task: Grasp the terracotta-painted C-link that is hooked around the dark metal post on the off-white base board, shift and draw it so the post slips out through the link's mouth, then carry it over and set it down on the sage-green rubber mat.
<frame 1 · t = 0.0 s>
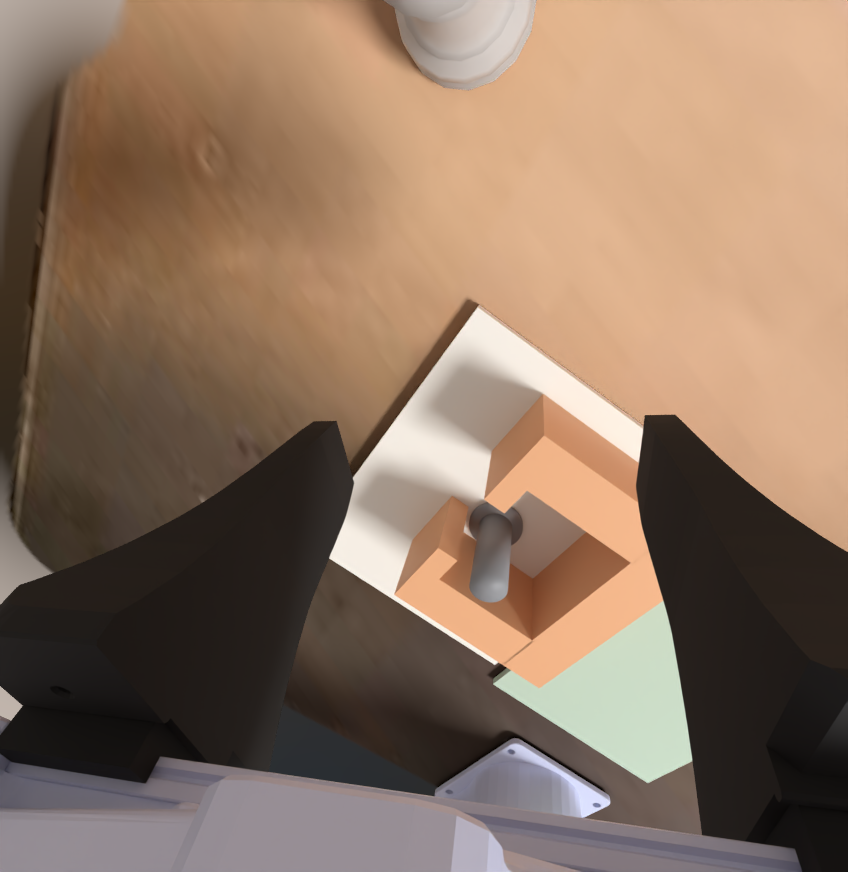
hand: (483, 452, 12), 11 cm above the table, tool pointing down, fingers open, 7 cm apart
mat: (644, 683, 29), on the table
stand: (496, 517, 26), on the table
rook chess piece: (468, 13, 17), on the table
c link: (523, 510, 25), resting on stand
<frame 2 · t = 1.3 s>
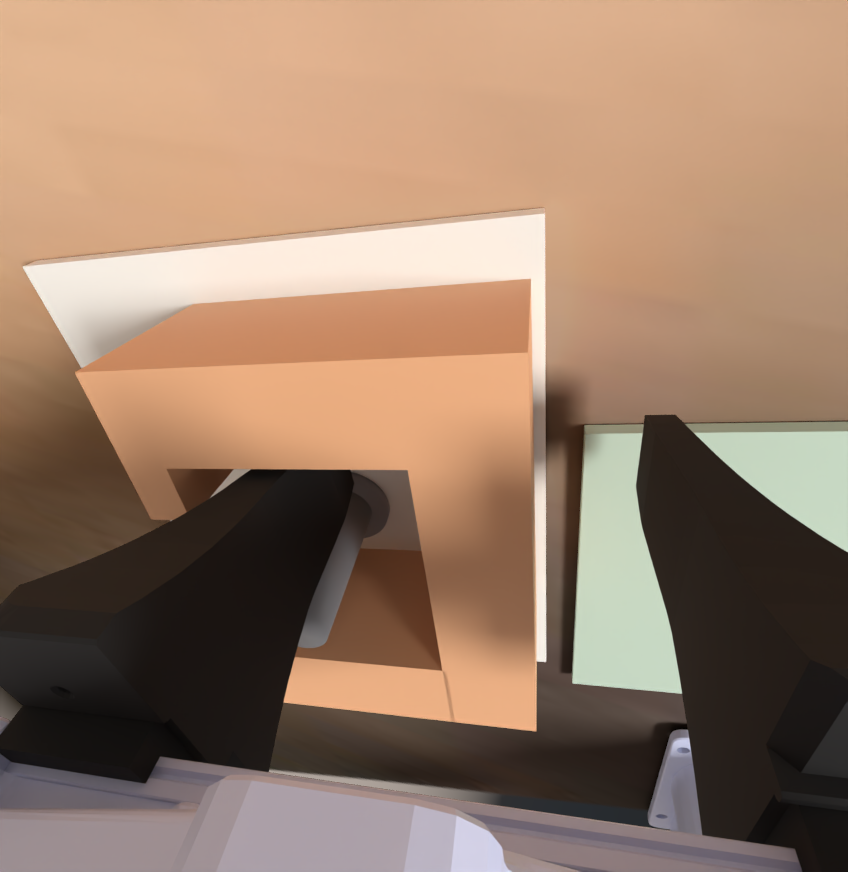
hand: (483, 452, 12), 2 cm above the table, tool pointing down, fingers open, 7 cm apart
mat: (781, 584, 16), on the table
stand: (353, 491, 17), on the table
c link: (350, 472, 15), point 1 cm above the table, touching gripper, stand
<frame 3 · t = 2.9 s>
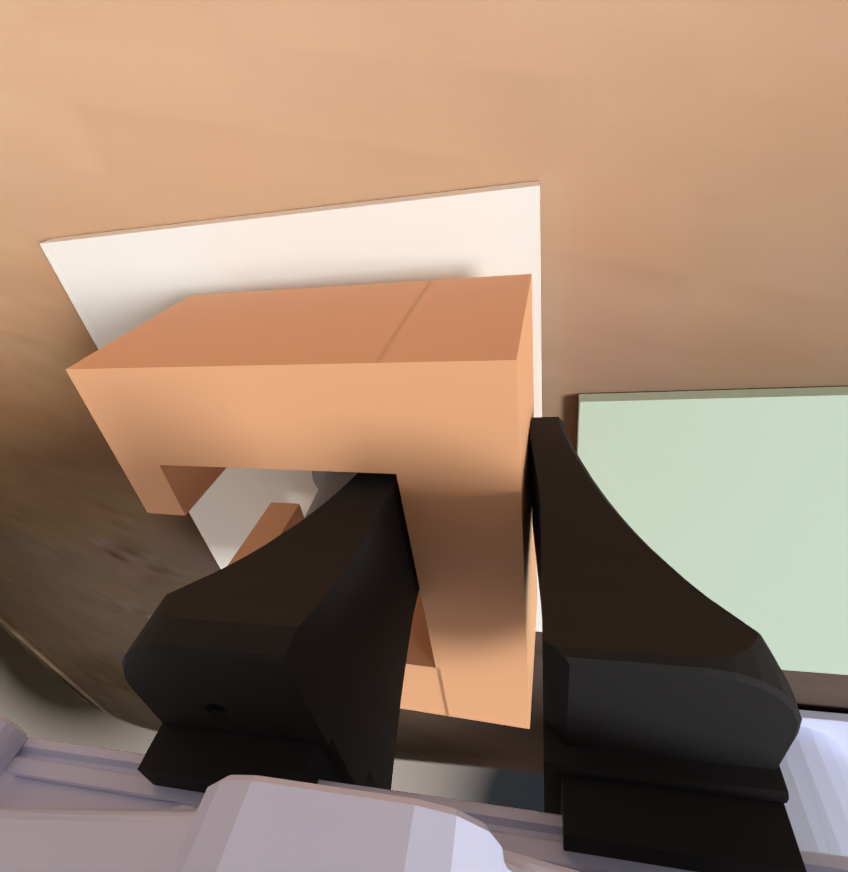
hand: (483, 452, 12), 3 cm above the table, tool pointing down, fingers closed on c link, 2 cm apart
mat: (769, 549, 16), on the table
stand: (357, 464, 17), on the table
c link: (350, 465, 15), point 2 cm above the table, touching gripper
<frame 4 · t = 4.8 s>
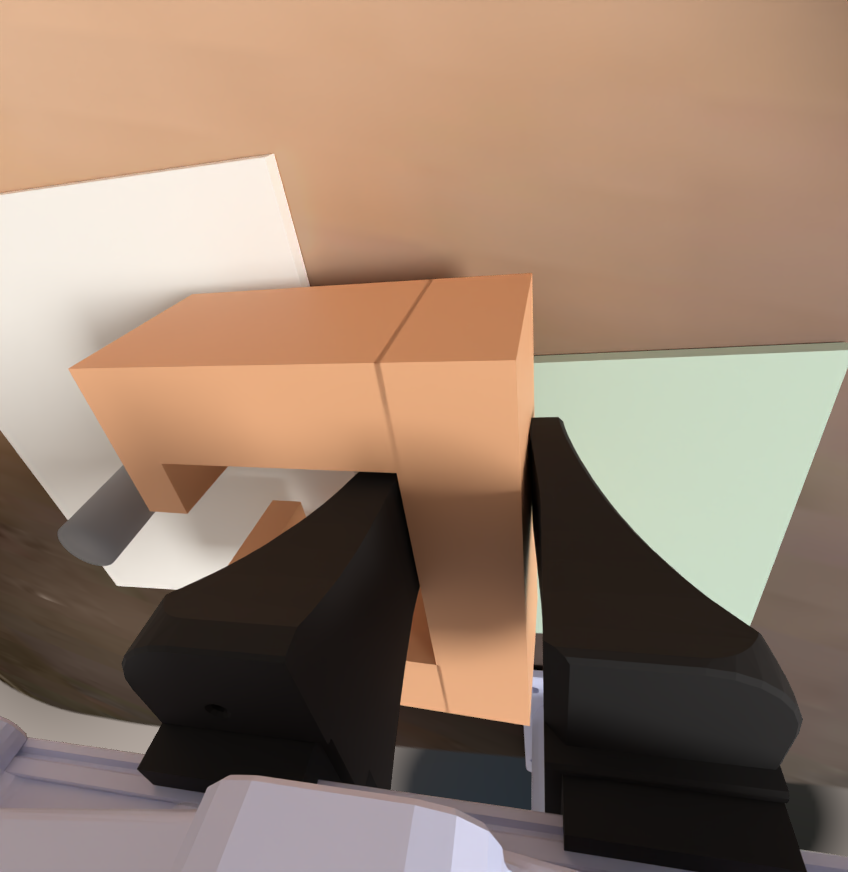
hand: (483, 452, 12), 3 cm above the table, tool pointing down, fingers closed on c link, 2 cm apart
mat: (574, 517, 17), on the table
stand: (186, 436, 18), on the table
c link: (351, 463, 15), point 2 cm above the table, touching gripper
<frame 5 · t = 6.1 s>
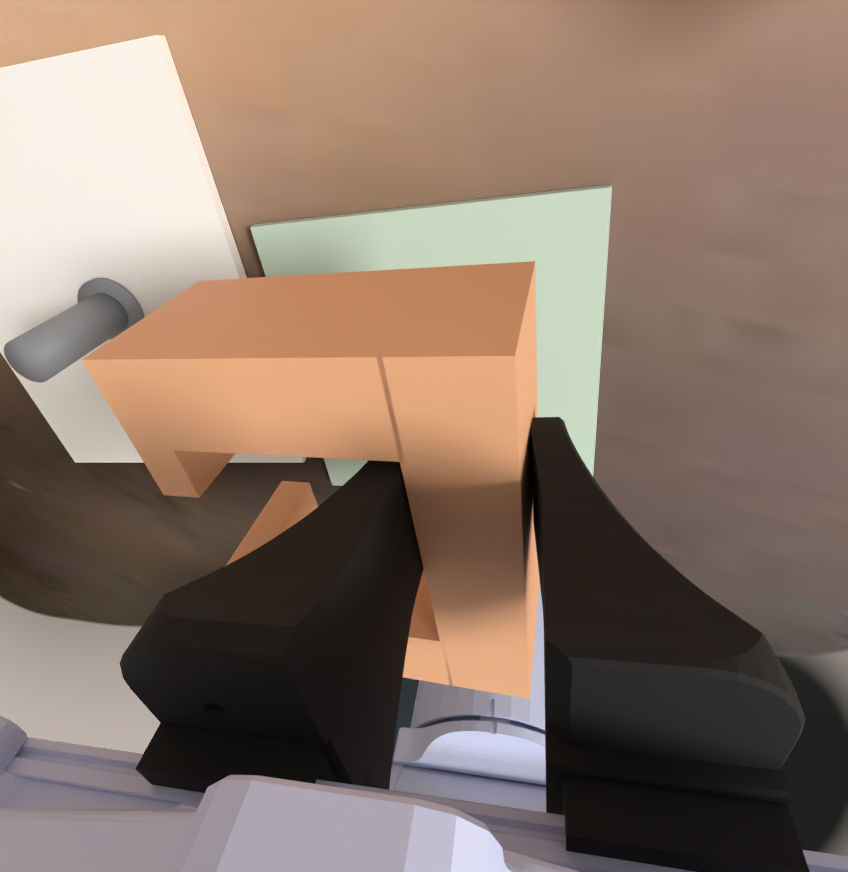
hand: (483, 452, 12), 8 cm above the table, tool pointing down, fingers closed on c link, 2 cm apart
mat: (440, 366, 20), on the table
stand: (121, 304, 21), on the table
c link: (358, 446, 15), point 6 cm above the table, touching gripper
when the fingers open (2 cm above the table, at t = 7.3 s): c link stays where it is, resting on mat.
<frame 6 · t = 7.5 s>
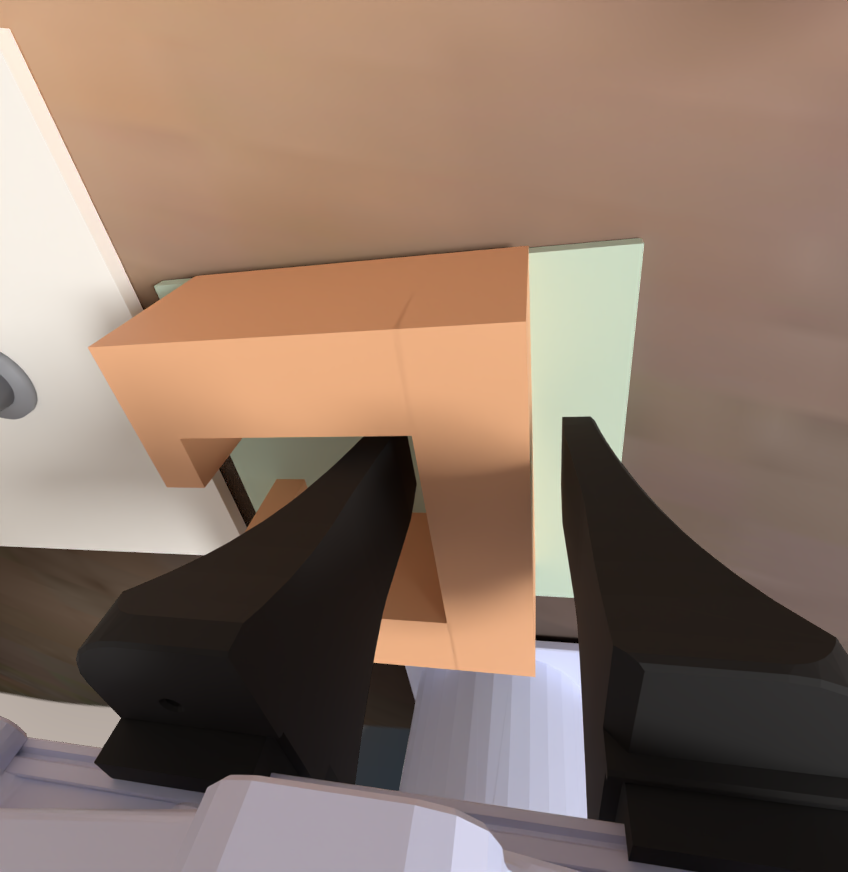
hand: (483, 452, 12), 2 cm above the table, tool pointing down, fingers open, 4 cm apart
mat: (413, 455, 16), on the table
stand: (9, 372, 17), on the table
c link: (355, 439, 15), resting on mat
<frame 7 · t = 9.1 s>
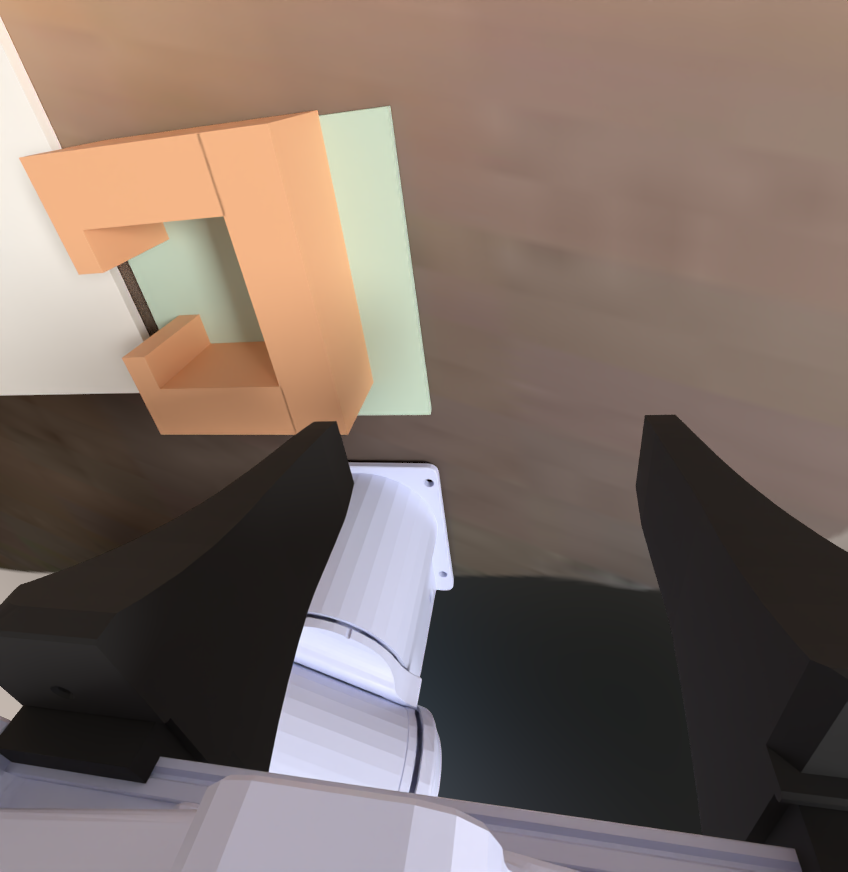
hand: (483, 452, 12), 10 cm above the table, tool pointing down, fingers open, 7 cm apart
mat: (275, 292, 22), on the table
c link: (229, 275, 21), resting on mat
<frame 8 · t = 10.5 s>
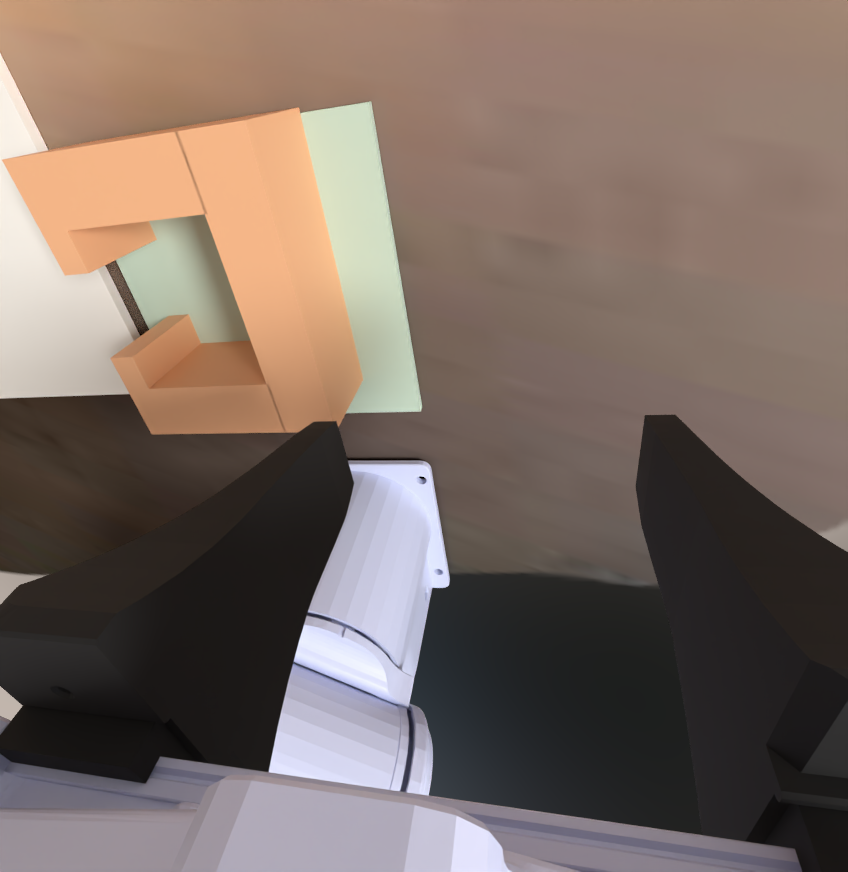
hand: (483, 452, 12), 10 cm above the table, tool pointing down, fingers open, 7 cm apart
mat: (263, 290, 22), on the table
c link: (217, 274, 21), resting on mat
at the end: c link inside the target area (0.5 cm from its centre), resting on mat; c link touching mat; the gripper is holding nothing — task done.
